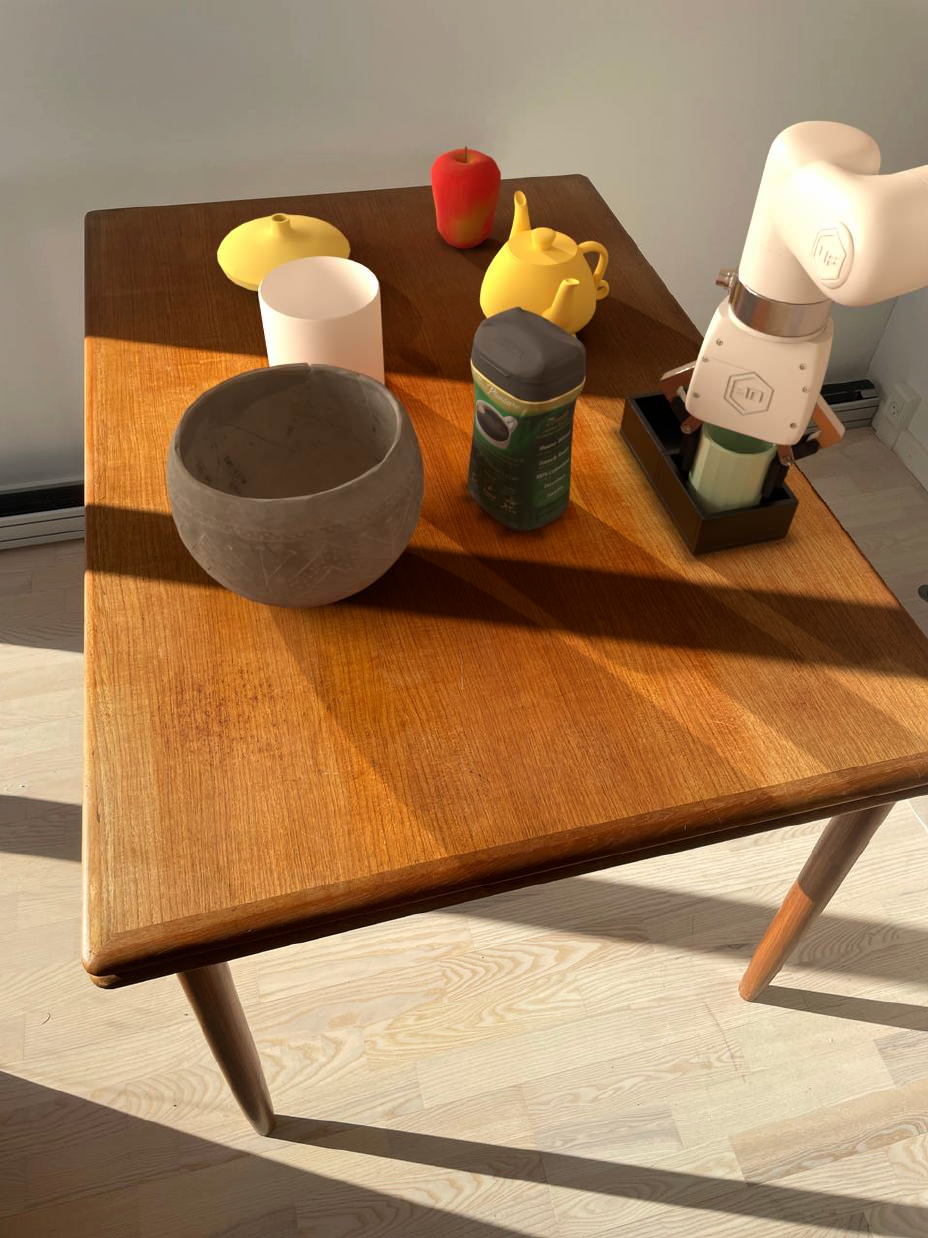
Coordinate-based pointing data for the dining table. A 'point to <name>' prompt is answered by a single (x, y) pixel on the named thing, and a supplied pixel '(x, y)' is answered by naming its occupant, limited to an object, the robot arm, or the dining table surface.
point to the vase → (276, 246)
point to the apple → (465, 196)
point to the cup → (323, 315)
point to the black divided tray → (657, 454)
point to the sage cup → (729, 469)
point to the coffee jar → (523, 417)
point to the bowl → (296, 483)
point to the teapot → (544, 275)
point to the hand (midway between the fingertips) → (729, 473)
